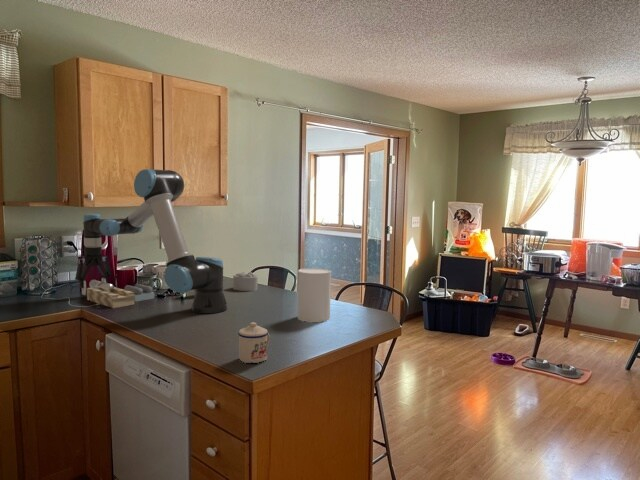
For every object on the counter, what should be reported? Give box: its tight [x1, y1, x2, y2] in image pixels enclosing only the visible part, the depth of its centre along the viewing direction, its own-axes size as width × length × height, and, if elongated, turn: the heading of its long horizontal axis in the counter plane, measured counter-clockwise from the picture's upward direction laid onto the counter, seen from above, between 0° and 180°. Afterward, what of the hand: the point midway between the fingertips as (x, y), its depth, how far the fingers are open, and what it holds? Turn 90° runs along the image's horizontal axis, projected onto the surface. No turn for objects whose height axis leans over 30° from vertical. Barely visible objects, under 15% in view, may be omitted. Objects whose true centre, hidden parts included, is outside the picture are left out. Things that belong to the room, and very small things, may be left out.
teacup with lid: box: [238, 321, 271, 362], centre depth 152 cm, size 12×9×12 cm
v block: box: [123, 283, 155, 303], centre depth 232 cm, size 11×10×6 cm
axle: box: [88, 279, 115, 293], centre depth 230 cm, size 16×4×4 cm, turn 51°
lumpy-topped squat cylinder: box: [232, 271, 258, 292], centre depth 259 cm, size 10×13×9 cm
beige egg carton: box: [86, 286, 135, 309], centre depth 224 cm, size 24×10×6 cm, turn 51°
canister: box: [297, 267, 332, 323], centre depth 201 cm, size 14×14×20 cm
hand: (94, 293), depth 233 cm, fingers open, 9 cm apart
